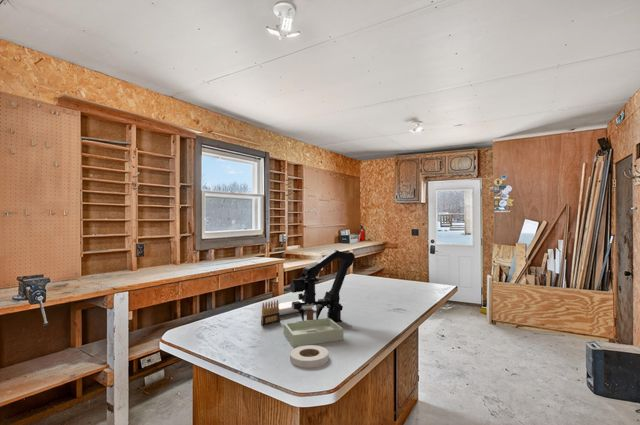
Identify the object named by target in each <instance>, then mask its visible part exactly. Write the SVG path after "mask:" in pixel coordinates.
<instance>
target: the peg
mask: <svg viewBox="0 0 640 425" xmlns="http://www.w3.org/2000/svg"><path fill="white" fill-rule="evenodd" d="M307 320H314V309H313V308H312V309H307V310H306V321H307Z"/></svg>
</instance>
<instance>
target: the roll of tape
mask: <svg viewBox="0 0 640 425" xmlns="http://www.w3.org/2000/svg"><path fill="white" fill-rule="evenodd" d="M329 354H330V353H329V350H328V349H327V348H326V347H323V346H321V345H316V344H310V345H303V346H296V347H294V349H292V350H291V351H290V353H289V361H290V363H292V364H293V365H294V366H296V367H300V368H308V369H309V368H317V367H321V366H323V365H326V364H327V363H328V362H329Z"/></svg>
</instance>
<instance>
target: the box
mask: <svg viewBox="0 0 640 425" xmlns="http://www.w3.org/2000/svg"><path fill="white" fill-rule="evenodd" d="M283 335H284V336H285V338H286V339H287V340H288V342H289V343H290V344H291V346H292V347H293V348H297V347H300V346H306V345H316V344H323V343H330V342H336V341H337V342H338V341H343V340H344V328H343V327H342V326H341V325H339V324H338V322H334V321H333V320H331V319H330V318H318V319H316V318H315V319H313V320H307V319H306V320H304V321H301V320H300V321H292V322H284V323H283Z"/></svg>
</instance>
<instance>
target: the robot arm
mask: <svg viewBox="0 0 640 425" xmlns="http://www.w3.org/2000/svg"><path fill="white" fill-rule="evenodd" d="M336 259H339V267H338V269H337V272H336V275H335V278H334V280H333V283H332V286H331V288H330V290H329V291H326V292H325V294H324V297H323V298H318V299H317V301H316V296H317V293H316V283H318V282H319V281H320V280H319V279H318V278H317V276H318V275H319V274H320V272H321V271H322V269H324V268H326V266H328V265H329V264H330V263H331V262H333V261H335V260H336ZM355 259H356V256H355V254H354V253H353V252H351V251H340V250H337V249H331V251H330V252H329V253H327V254H326V255H324V256H323V257H321V258H320V259H319V260H317V261H316V262H315V263H311V264H309V265H306V266H304V268H303V269H302V272H301V273H300V276H299V277H298V278H292V279H291V282H290V285H289V289H290V292H291V293H293V294H294V293H295V294H296V293H298V300H302V302H304V303H301V302H299V301H297V300H294V301H295V302H292V308H293V309H297V310H298V311H299V314H300V318H301V320H302V321H305V313H304V312H305V310H304V309H303V308H302V306H312V305H314V306H315V307H316V311H315V312H316V313H315V320H316V319H319V318H320V315H321V312H322V311H323V309H324V308H325V307H326V308H327V309H328V310H327V312H326V313H327V314H326V315H327V318H330V319H331V320H333V321H334V322H335V323H339V322H343V320H342V317H341V316H342V314H341V311H343V307H344V306H343V305H342V304H341V303H340V300H341V298H340V297H341V296H340V292H341V290H342V286H343V283H344V280H345V278H346V275H347V272H348V270H349V268H350V267H351V266H352V265H353V263H354V261H355ZM301 292H303V293H301ZM312 303H313V304H312Z"/></svg>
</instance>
